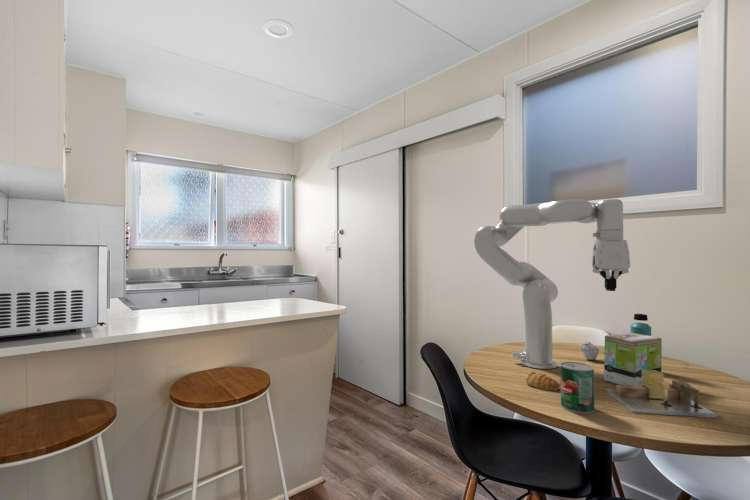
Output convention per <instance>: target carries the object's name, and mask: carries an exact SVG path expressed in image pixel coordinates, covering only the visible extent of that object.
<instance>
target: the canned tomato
mask: <svg viewBox="0 0 750 500" xmlns="http://www.w3.org/2000/svg"><path fill="white" fill-rule="evenodd" d="M559 366H560V406H561V407H562V408H563V409H565V410H567V411H569V412H571V413H577V414H587V415H588V414H592V413H595V368H594V366H591V365H590V364H586V363H582V362H576V361H575V362H574V361H562V362H561V363H560V364H559Z"/></svg>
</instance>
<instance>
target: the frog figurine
mask: <svg viewBox="0 0 750 500" xmlns="http://www.w3.org/2000/svg"><path fill="white" fill-rule="evenodd" d="M579 349H580V351H581V352H582V353H583V356H584V358H586V359H587V360H588V361H594V360H596V359H597V358H598V356H599V354H600V353H599V352H600V348H599V347H598V346H596V345H594V344H593V343H591V342H590V341H583V343H580V344H579Z"/></svg>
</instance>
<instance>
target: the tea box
mask: <svg viewBox="0 0 750 500" xmlns="http://www.w3.org/2000/svg"><path fill="white" fill-rule="evenodd" d="M662 343H663V342H662V337H658V336H652V335H651V336H647V335H641V334H636V333H631V332H624V333H617V334H609V335H604V356H603V358H604V359H603V360H604V362H603V363H604V364H603V365H604V369H603V370H604V372H603V379H604V381H606V382H610V383H613V384H616V385H623V386H641V387H642V370H656V371H658V372H660V373H662V358H663V357H662V346H663V345H662Z"/></svg>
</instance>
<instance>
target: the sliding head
mask: <svg viewBox="0 0 750 500" xmlns="http://www.w3.org/2000/svg"><path fill="white" fill-rule="evenodd" d="M642 387H647V388H648V397H649V398H660V399H664V404H668V388H670V384H669V383H667V382H665V381H664V373H662V372H661V373H660V372H658V371H656V370H642Z"/></svg>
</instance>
